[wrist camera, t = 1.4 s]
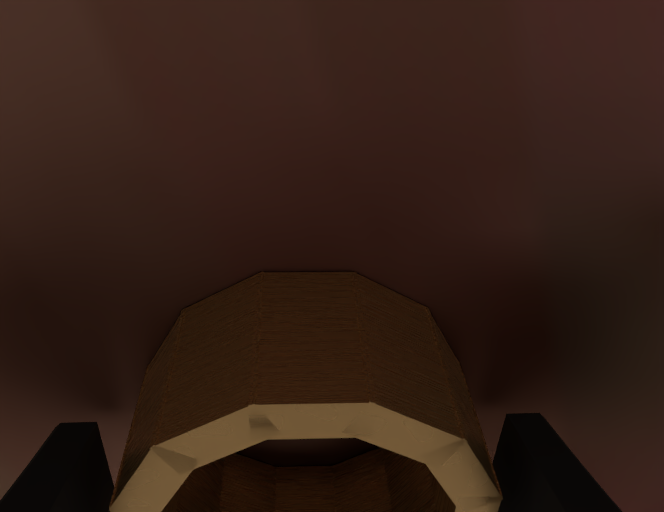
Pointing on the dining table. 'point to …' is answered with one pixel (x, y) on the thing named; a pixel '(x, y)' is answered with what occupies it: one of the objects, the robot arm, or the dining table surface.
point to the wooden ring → (305, 405)
